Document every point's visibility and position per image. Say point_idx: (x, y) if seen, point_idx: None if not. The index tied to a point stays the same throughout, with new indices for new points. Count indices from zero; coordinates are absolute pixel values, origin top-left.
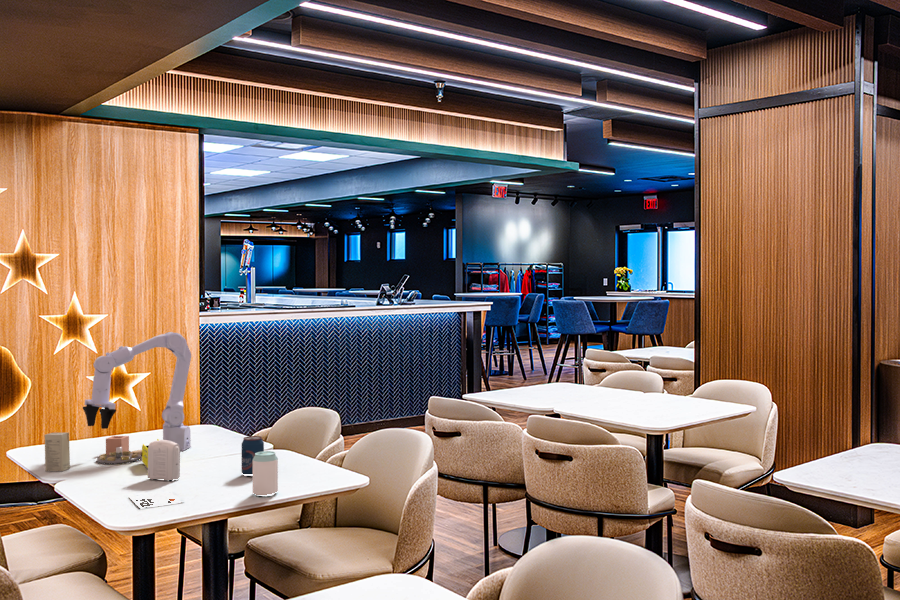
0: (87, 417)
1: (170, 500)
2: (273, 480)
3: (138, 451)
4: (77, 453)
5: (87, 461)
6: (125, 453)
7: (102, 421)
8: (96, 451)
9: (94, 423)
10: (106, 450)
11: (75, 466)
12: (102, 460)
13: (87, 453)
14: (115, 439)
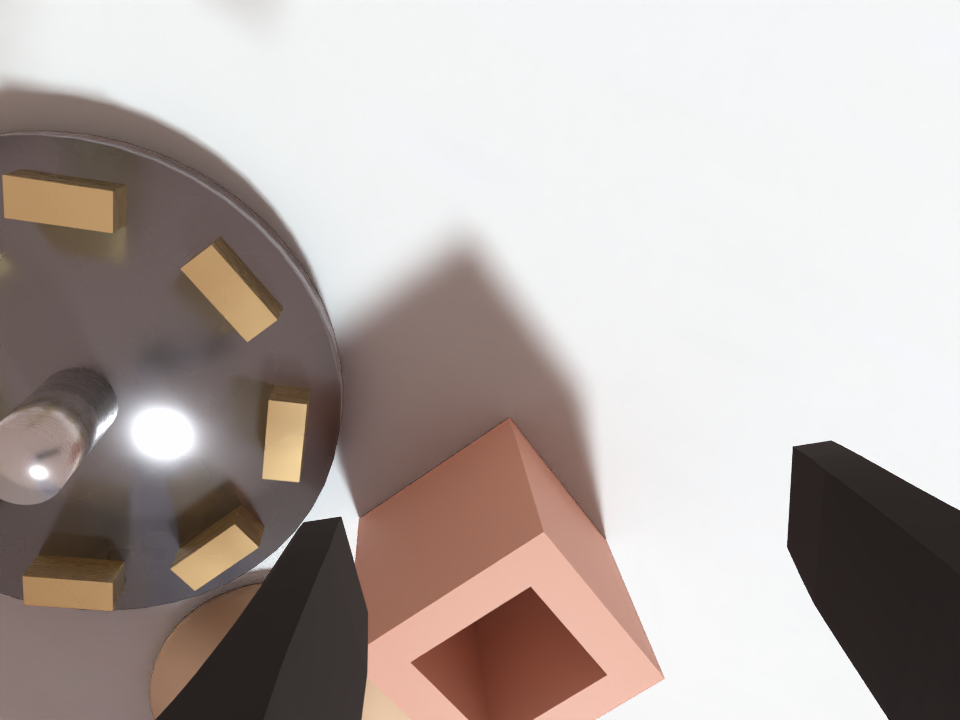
0: (954, 548)
1: None
2: None
3: None
4: (900, 263)
5: (317, 97)
6: (210, 528)
7: (234, 633)
8: None
9: (811, 590)
10: (510, 449)
11: None
12: (3, 165)
13: (793, 336)
14: (421, 604)
